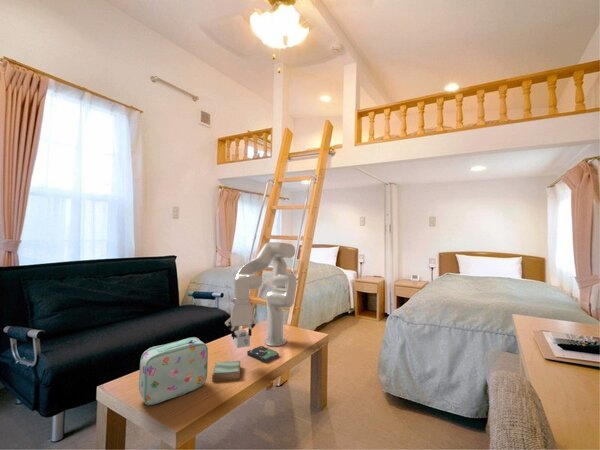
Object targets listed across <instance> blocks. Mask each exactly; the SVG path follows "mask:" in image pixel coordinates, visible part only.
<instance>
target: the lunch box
mask: <svg viewBox="0 0 600 450" xmlns="http://www.w3.org/2000/svg"><path fill="white" fill-rule="evenodd" d="M208 357H209V349H208V346H207V344H206V343H204V342H203V341H201V340H200V338H198V337H196V336H193V337H187V338H184V339H180V340H178V341H177V340H176V341H173V342H170V343H169V342H168V343H166V344H161V345H156V346H155V345H154V346H152V347H149V348H148V349H146V350H145V351H144V352H143V353H142V354H141V357H140V360H139V373H138V374H139V378H138V379H139V380H138V391H139V394H140V396H141V398H142V401H143V403H144V404H145V405H147V406H152V405H153V406H154V405H157V404H160V403H162V402H164V401H168V400H171V399H174V398H177V397H178V398H179V397H181V396H183V395H185V394H187V393H190V392H192V391H195V390H198V389H199V388H201V387H202V386H203V385H204V384H205V382H206V380H207V377H208V364H209V363H208V360H209V358H208Z"/></svg>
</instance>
